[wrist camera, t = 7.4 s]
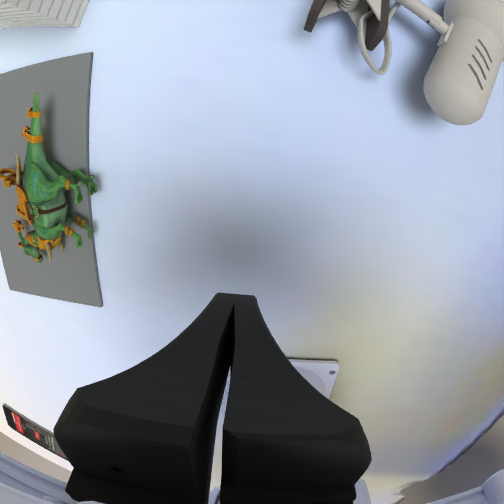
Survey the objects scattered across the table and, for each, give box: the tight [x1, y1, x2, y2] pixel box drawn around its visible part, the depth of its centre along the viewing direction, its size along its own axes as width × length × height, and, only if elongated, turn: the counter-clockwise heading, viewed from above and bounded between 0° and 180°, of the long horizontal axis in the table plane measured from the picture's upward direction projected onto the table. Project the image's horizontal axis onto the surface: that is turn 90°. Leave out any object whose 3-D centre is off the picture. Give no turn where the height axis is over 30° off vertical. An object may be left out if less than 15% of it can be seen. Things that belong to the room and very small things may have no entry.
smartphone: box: [3, 404, 69, 461], centre depth 33 cm, size 7×1×15 cm
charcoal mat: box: [0, 52, 103, 307], centre depth 19 cm, size 18×10×1 cm, turn 175°
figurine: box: [0, 92, 97, 263], centre depth 17 cm, size 3×12×8 cm
